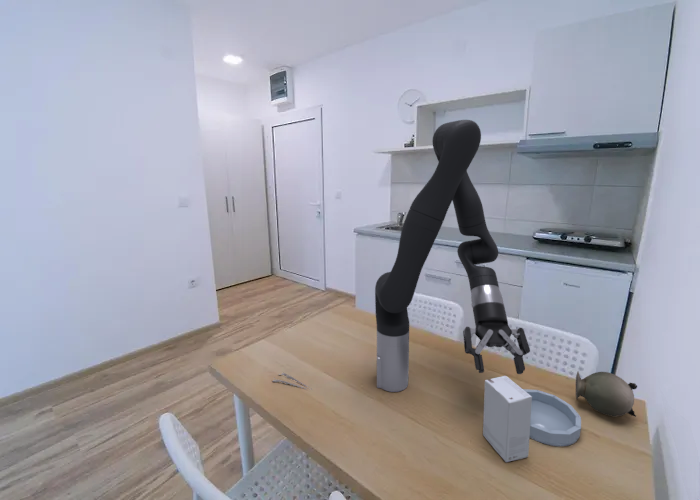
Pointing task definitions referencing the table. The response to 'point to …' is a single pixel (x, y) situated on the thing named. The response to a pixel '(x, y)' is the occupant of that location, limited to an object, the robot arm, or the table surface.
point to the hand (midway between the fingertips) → (501, 372)
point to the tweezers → (289, 383)
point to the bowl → (553, 420)
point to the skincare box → (507, 418)
